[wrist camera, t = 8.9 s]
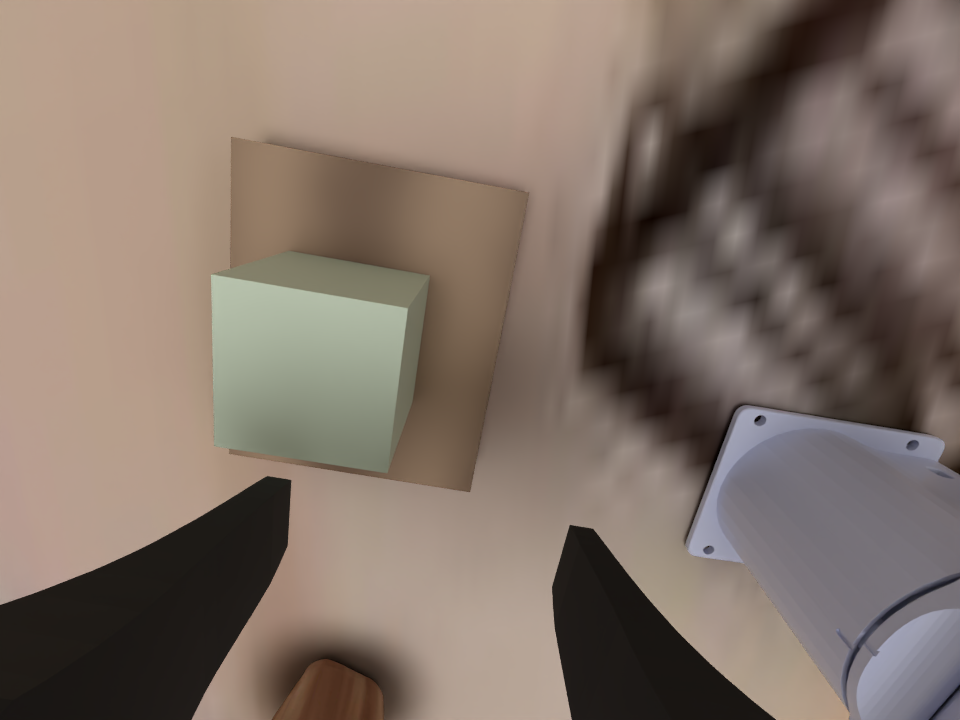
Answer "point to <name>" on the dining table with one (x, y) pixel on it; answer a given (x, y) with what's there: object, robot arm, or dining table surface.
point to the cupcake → (332, 695)
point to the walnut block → (402, 246)
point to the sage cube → (315, 358)
